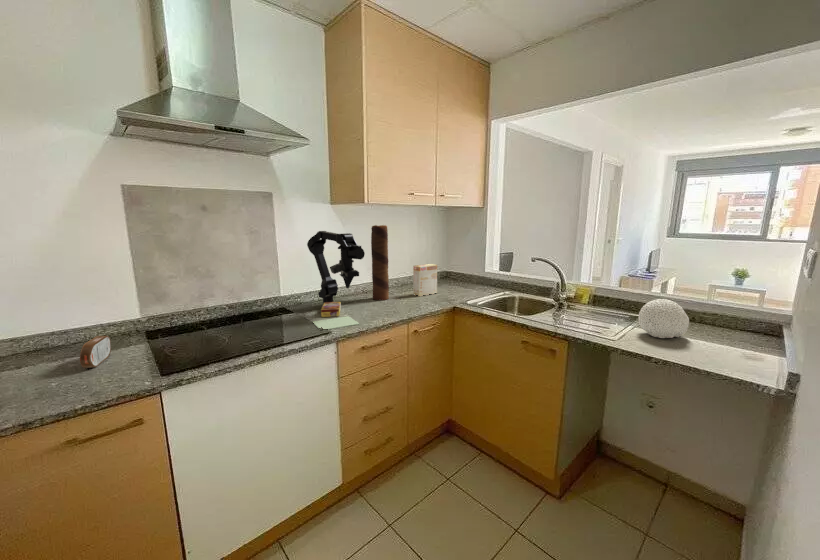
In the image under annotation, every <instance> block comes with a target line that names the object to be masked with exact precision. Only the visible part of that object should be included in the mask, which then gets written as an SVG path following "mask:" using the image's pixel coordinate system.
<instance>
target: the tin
mask: <svg viewBox="0 0 820 560" xmlns="http://www.w3.org/2000/svg"><path fill="white" fill-rule="evenodd" d="M111 345H112V342H111V338H110V336H108V335H95V337H94V338H93V337H92V339H90V340H89V341H87V342H85V343H84V344H83V345H82V347H81V349H80V353H79V362H80V365H81V367H82V368H83V369H91V368H97V367H99V365H101V364H102V363H103V362H104V361H106V360H107V359H108V358H109V357H110V355H111V352H112V346H111Z"/></svg>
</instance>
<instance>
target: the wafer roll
mask: <svg viewBox="0 0 820 560" xmlns="http://www.w3.org/2000/svg"><path fill="white" fill-rule="evenodd" d="M370 229H371V236H370V238H371V239H370V243H371V245H370V247H371V279H372V281H371V283H372V299H373V300H375V301H387V299H388V300H389V298H390V295H389V293H390V291H389V289H390V284H389V278H390V277H389V248H388V247H389V240H388V239H389V237H388V236H389V233H388V230H389V229H388V226H387V225H386V224H385V225H384V224H383V225H377V224H375V225H372V226H371V228H370Z"/></svg>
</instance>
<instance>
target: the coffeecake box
mask: <svg viewBox="0 0 820 560" xmlns="http://www.w3.org/2000/svg"><path fill="white" fill-rule="evenodd" d="M412 268H413V269H412V270H413V271H412V272H413V274H412V275H413V278H412V279H413V280H412V281H413V284H412V285H413V286H412V287H413V288H412V289H413V294H415V295H414V296H416V295H418V296H417V297H419V296H420V297H424V296H423V295H426V296H430V295H429V294H432V295H435V294H434V293H437V294H438V264H435V263H429V264H428V263H427V264H418V265H413V267H412ZM413 294H412V295H413Z"/></svg>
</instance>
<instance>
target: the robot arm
mask: <svg viewBox="0 0 820 560" xmlns="http://www.w3.org/2000/svg"><path fill="white" fill-rule="evenodd" d="M327 241H334V242H336V244H338V245H339V246H338V247H337V249H338V250H340V260H339V261H338V263H335V264H333V265H331V266H329V267H328V264H327V261H326V258H325V254H324V250H325V244H326V243H327ZM306 245H307V248H308V250H309V252H310V253H311V254H312V255H313V256H314V259H315V262H316V266H317V270H318V271H319V275H320V278H321V282H320V283H321V284H320V288H321V289H320V291H319V292H318V297H319V298H322V305H320V307H321V308H322V307H323V305H324V302H334V297H335V296H337V295H338V290H339V287H338V286H339V285H338V283H337V280H336V279H333V278H332V275H331V274H333V275H334V274H335V275H336V274H338V273H340V274H339V276H340V277H341V278H342V279H343V283H344V285H345V288H346V289H349V288H350V286H351V284H352V281H353V279H354V278H355V277H360V272H359V271H358V270H357V269H355V268H354V267H353V263H354V262H355V261H354V260H363V259H364V257H365V250H364V249H363V248H362V245H358V242H357V241H356V239H355V237H354V236H353V233H347V232H346V233H336V232H331V231H327V230H319V231H317V232H316V233H315V234H313V236H311V237H310V238H309V239H308V241H307V242H306ZM330 272H331V274H330Z"/></svg>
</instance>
